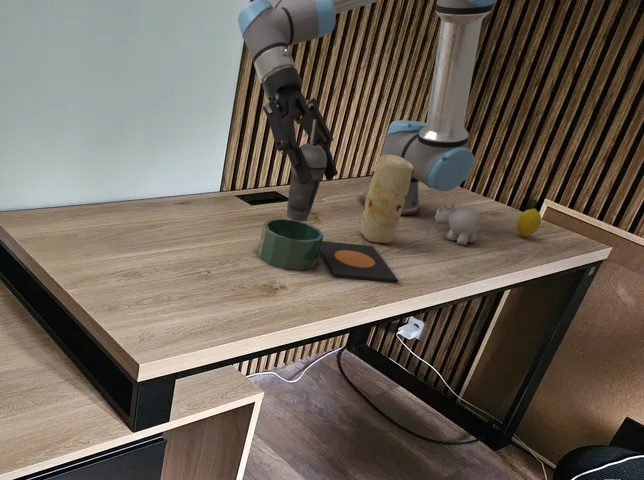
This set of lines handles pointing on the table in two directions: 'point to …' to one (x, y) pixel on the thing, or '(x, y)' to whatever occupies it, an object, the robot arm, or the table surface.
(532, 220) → the lemon
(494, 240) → the table surface
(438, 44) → the robot arm
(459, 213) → the toy rhinoceros
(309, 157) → the beverage cup
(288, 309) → the table surface
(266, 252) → the pot
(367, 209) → the food model
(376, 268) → the mat
